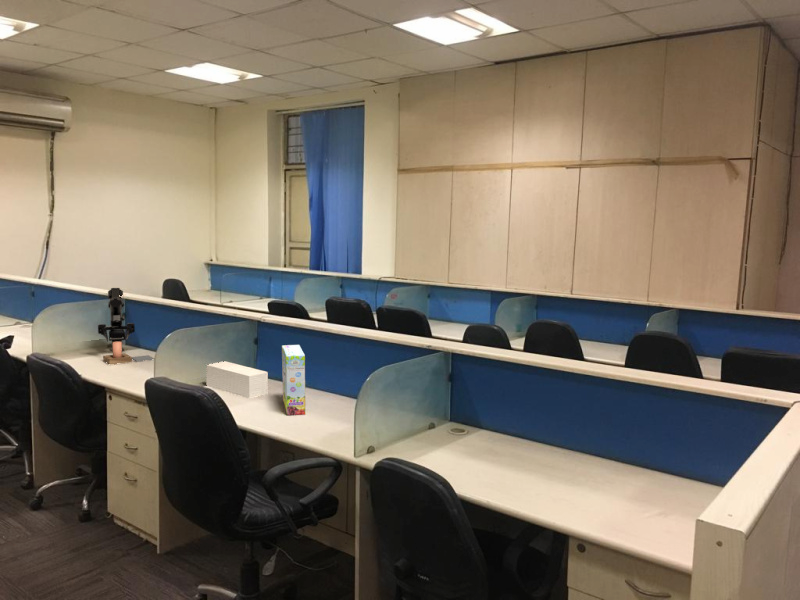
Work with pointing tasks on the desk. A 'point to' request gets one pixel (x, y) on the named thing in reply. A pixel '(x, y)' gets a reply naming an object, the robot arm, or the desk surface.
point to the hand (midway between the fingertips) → (116, 340)
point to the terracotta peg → (117, 349)
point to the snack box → (293, 379)
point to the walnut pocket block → (117, 359)
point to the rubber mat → (142, 358)
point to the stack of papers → (237, 379)
